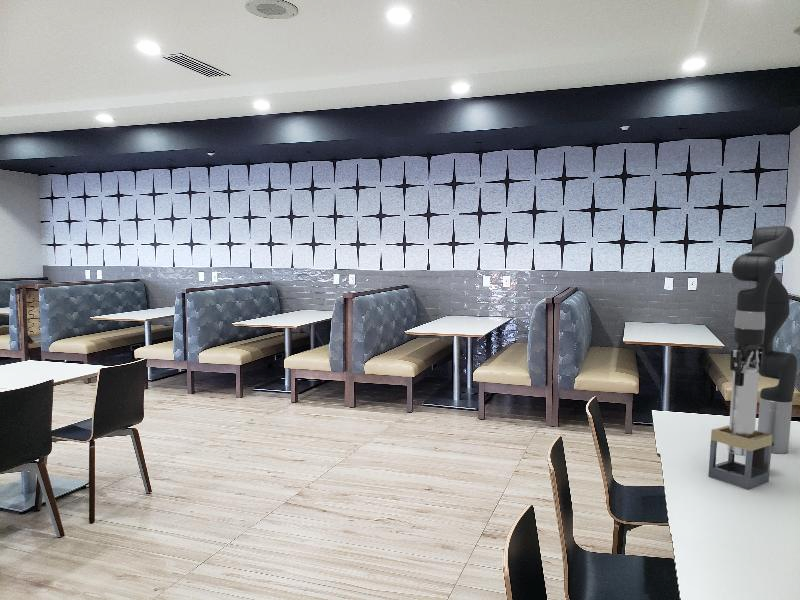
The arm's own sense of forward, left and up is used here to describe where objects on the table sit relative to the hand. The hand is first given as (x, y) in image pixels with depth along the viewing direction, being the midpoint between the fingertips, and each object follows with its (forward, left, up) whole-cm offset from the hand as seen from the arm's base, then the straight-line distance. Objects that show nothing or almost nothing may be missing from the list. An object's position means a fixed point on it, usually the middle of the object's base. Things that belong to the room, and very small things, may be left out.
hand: (745, 384), depth 176 cm
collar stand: (0, 0, -28) cm, 28 cm away
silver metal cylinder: (0, 0, -20) cm, 20 cm away
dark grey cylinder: (-12, -1, -28) cm, 31 cm away
